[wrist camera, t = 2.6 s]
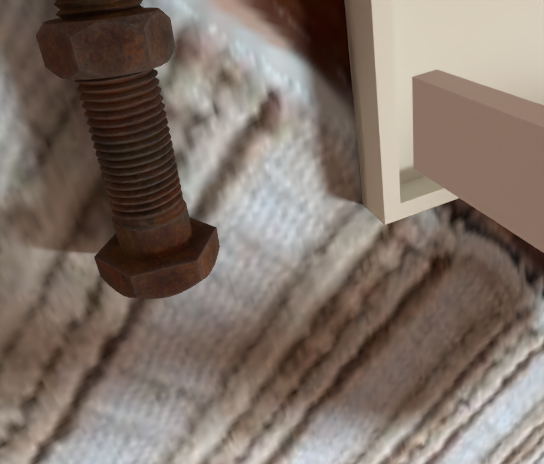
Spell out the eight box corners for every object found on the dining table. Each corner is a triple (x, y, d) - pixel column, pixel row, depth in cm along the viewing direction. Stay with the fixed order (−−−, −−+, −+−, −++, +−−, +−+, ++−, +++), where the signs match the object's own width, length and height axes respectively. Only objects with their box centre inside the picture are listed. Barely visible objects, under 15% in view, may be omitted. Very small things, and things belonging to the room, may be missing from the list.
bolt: (95, -89, 20) (167, 230, 27) (-35, -87, 17) (86, 274, 24) (186, -111, 16) (241, 262, 24) (44, -114, 13) (158, 317, 21)
